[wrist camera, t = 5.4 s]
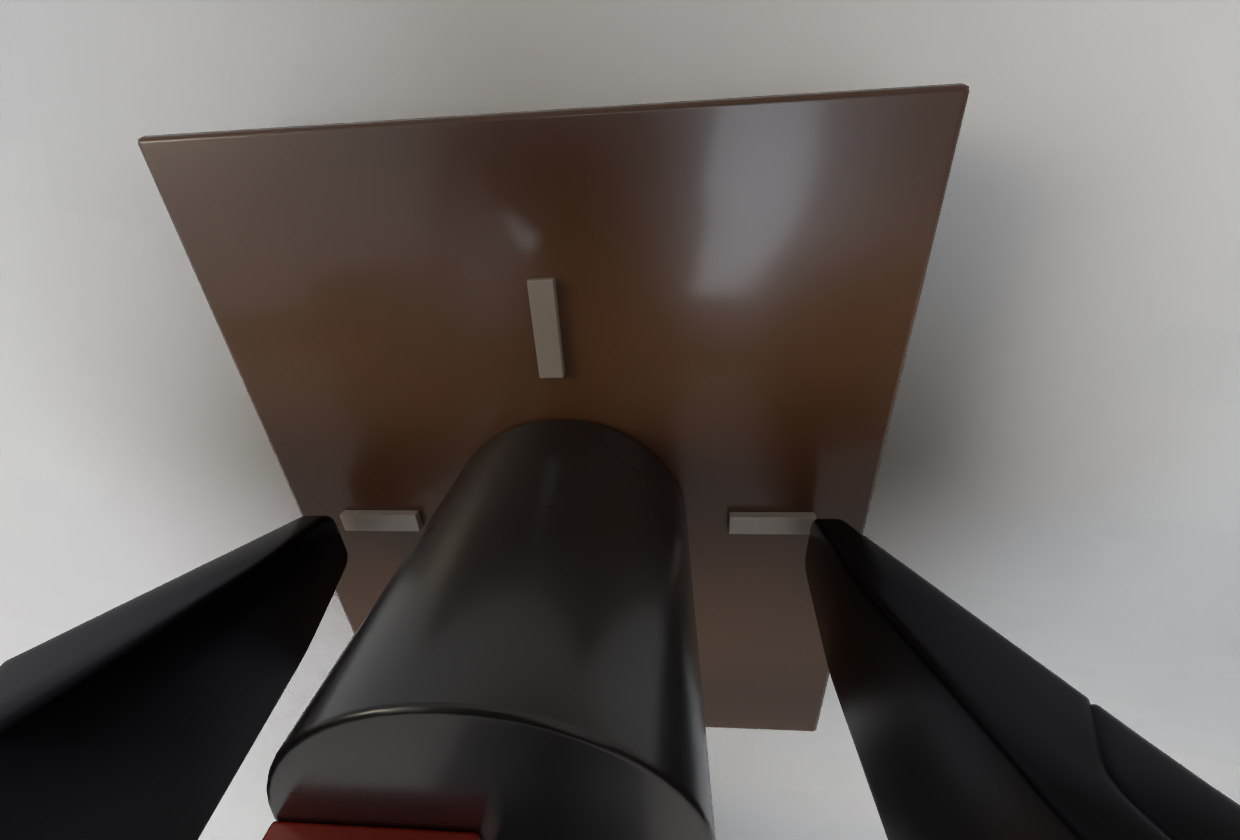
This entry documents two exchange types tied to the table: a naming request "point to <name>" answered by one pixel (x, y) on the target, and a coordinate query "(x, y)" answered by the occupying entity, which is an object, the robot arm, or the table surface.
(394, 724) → the dial
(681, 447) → the dial panel
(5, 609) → the table surface
